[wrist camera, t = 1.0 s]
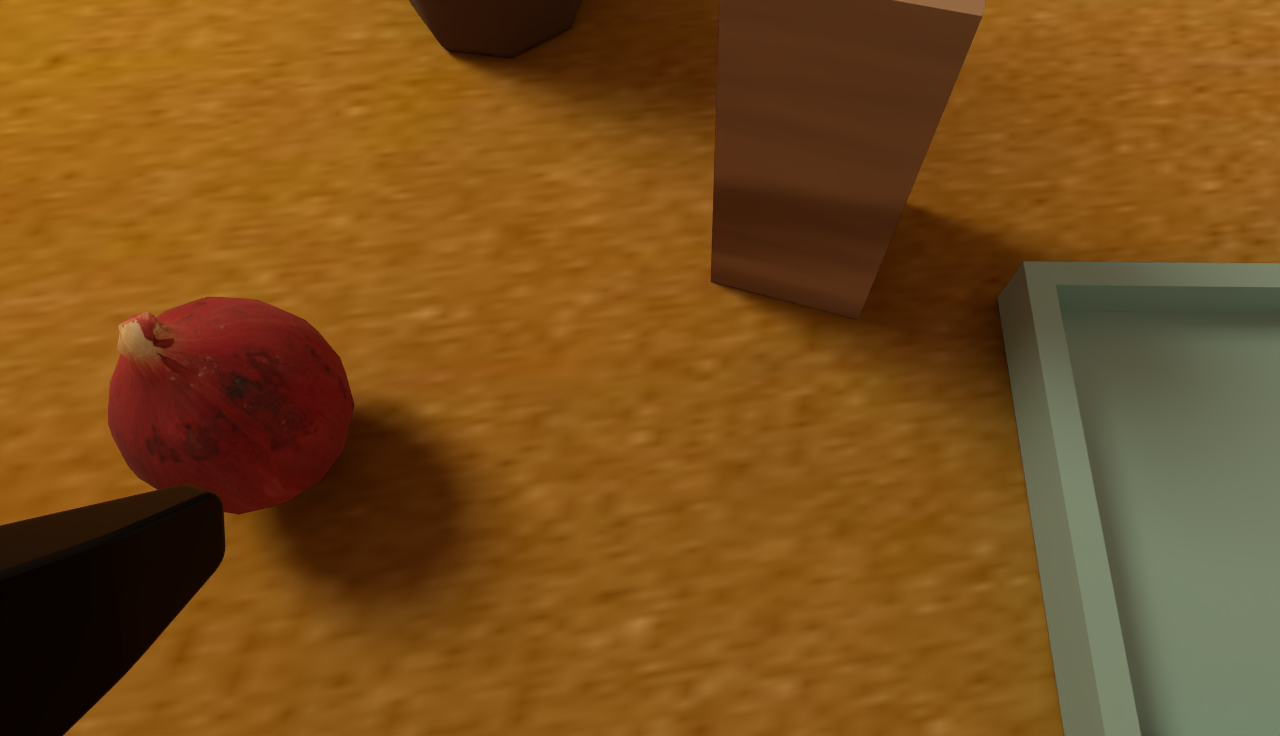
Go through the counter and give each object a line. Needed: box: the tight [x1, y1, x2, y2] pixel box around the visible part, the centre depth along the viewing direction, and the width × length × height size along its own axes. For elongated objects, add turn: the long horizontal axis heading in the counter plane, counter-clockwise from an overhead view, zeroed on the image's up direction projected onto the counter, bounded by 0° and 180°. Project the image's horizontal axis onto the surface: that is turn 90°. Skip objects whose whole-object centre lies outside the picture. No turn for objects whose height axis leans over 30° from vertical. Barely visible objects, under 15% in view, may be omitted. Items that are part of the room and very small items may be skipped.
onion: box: [108, 297, 354, 514], centre depth 21 cm, size 6×6×8 cm
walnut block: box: [711, 0, 986, 320], centre depth 21 cm, size 5×5×12 cm
